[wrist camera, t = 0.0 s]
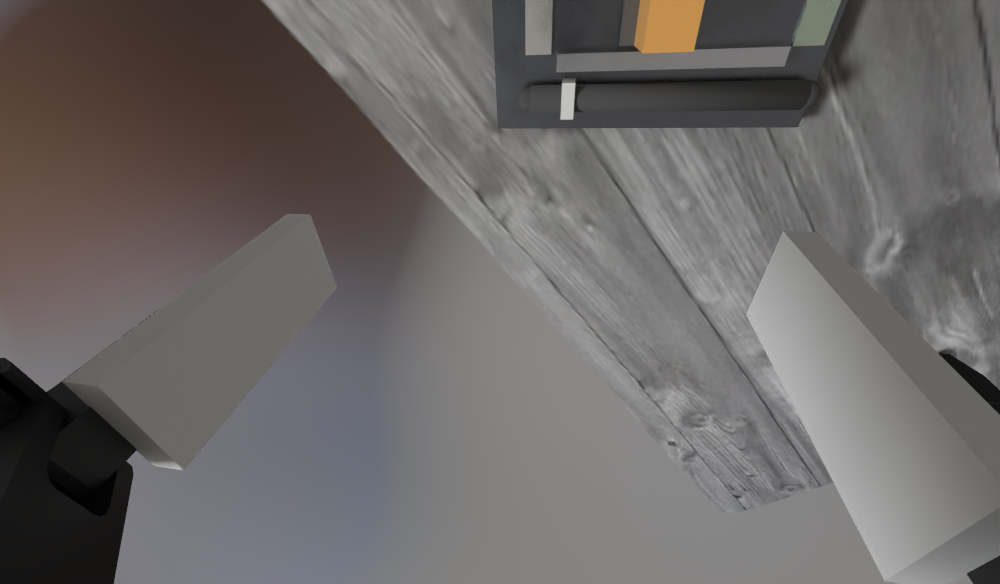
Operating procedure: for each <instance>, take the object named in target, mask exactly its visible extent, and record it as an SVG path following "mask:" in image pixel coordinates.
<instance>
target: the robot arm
mask: <svg viewBox="0 0 1000 584" xmlns="http://www.w3.org/2000/svg"><path fill="white" fill-rule="evenodd" d="M336 288H337V286H336V284H335V281H334V278H333V275H332V273H331V270H330V267H329V265H328V262H327V259H326V257H325V254H324V251H323V248H322V246H321V243H320V240H319V237H318V235H317V232H316V229H315V227H314V224H313V221H312V218H311V216H310V215H304V214H287V215H285V216H284V217H283V218H281V219H280V220H279V221H277V222H276V223H275V224H273V225H272V226H271V227H269V228H268V229H267V230H265V231H264V232H263V233H261V234H260V235H259V236H257V237H256V238H254V239H253V240H252V241H250V242H249V243H248V244H247V245H245V246H244V247H243V248H241V249H240V250H238V251H237V252H236V253H234V254H233V255H232V256H230V257H229V258H228V259H227V260H225V261H224V262H222V263H221V264H220V265H218V266H217V267H215V268H214V269H213V270H211V271H210V272H209V273H207V274H206V275H205V276H203V277H202V278H201V279H199V280H198V281H197V282H195V283H194V284H193V285H191V286H190V287H189V288H187V289H186V290H185V291H183V292H182V293H180V294H179V295H178V296H177V297H175V298H174V299H173V300H171V301H170V302H168V303H167V304H166V305H164V306H163V307H162V308H160V309H159V310H157V311H156V312H154V313H153V314H152V315H151V316H149V317H148V318H146V319H145V320H144V321H142V322H141V323H140V324H138V325H137V326H136V327H134V328H133V329H132V330H130V331H129V332H128V333H126V334H125V335H124V336H122V337H121V338H120V339H119V340H117V341H115V342H114V343H113V344H111V345H110V346H109V347H107V348H106V349H105V350H103V351H102V352H101V353H99V354H98V355H97V356H95V357H94V358H93V359H91V360H90V361H89V362H87V363H86V364H84V365H83V366H82V367H80V368H79V369H78V370H76V371H75V372H74V373H72V374H71V375H70V376H68V377H67V378H66V379H64V380H63V381H62V382H60V383H59V384H58V385H56V386H55V387H53V388H52V389H50V390H49V391H47V392H45V391H44V390H43V389H42V388H40V387H39V386H38V385H37V384H36V383H34V381H32V380H31V379H30V378H29V377H28V376H27V375H26V374H24V373H23V372H22V371H21V370H20V369H18V368H17V367H16V366H15V365H14V364H13V363H12V362H10V361H9V360H7V359H5V358H0V584H114V579H115V572H116V567H117V562H118V556H119V550H120V545H121V540H122V534H123V529H124V523H125V518H126V512H127V507H128V501H129V496H130V490H131V484H132V479H133V468H132V466H131V465H130V464H129V463H128V462H126V460H127V459H128V458H129V457H130V456H131V455H132V454H133V453H134V452H135V451H136V450H137V451H138V452H139V453H140V454H142V455H143V456H144V457H145V458H146V459H147V460H148V461H149V462H150V463H151V464H152V465H153V466H159V467H165V468H172V469H178V470H185V468H186V467H187V466H188V465H189V463H190V462H191V461H192V460H193V459H194V457H195V456H196V455H197V454H198V453H199V452H200V451H201V449H202V448H203V447H204V446H205V445H206V443H207V442H208V441H209V440H210V439H211V437H212V436H213V435H214V434H215V433H216V431H217V430H218V429H219V428H220V427H221V425H222V424H223V423H224V422H225V421H226V419H227V418H228V417H229V416H230V415H231V413H232V412H233V411H234V410H235V409H236V408H237V406H238V405H239V404H240V403H241V401H242V400H243V399H244V398H245V397H246V396H247V394H248V393H249V392H250V391H251V390H252V388H253V387H254V386H255V385H256V384H257V382H258V381H259V380H260V379H261V378H262V376H263V375H264V374H265V373H266V372H267V370H268V369H269V368H270V367H271V366H272V364H273V363H274V362H275V361H276V360H277V359H278V357H279V356H280V355H281V354H282V353H283V351H284V350H285V349H286V348H287V347H288V345H289V344H290V343H291V342H292V341H293V339H294V338H295V337H296V336H297V335H298V333H299V332H300V331H301V330H302V328H303V327H304V326H305V325H306V324H307V323H308V321H309V320H310V319H311V318H312V317H313V315H314V314H315V313H316V312H317V311H318V310H319V308H320V307H321V306H322V305H323V304H324V302H325V301H326V300H327V299H328V298H329V296H330V295H331V294H332V293H333V292H334V290H335V289H336ZM747 317H748V319H749V320H750V322H751V324H752V326H753V328H754V330H755V332H756V334H757V336H758V338H759V340H760V342H761V344H762V345H763V347H764V349H765V351H766V353H767V355H768V357H769V359H770V361H771V363H772V365H773V367H774V369H775V370H776V372H777V374H778V376H779V378H780V380H781V382H782V384H783V386H784V388H785V390H786V392H787V394H788V396H789V397H790V399H791V401H792V403H793V405H794V407H795V409H796V411H797V413H798V415H799V417H800V419H801V421H802V422H803V424H804V426H805V428H806V430H807V432H808V434H809V436H810V438H811V440H812V442H813V444H814V446H815V447H816V449H817V451H818V453H819V455H820V457H821V459H822V461H823V463H824V465H825V467H826V469H827V471H828V472H829V474H830V476H831V478H832V480H833V482H834V484H835V486H836V488H837V490H838V492H839V494H840V496H841V498H842V499H843V501H844V503H845V505H846V507H847V509H848V511H849V513H850V515H851V516H852V519H853V520H854V523H855V524H856V526H857V528H858V530H859V532H860V534H861V536H862V538H863V540H864V542H865V544H866V546H867V548H868V549H869V551H870V553H871V555H872V557H873V559H874V561H875V563H876V565H877V567H878V569H879V571H880V572H881V574H882V576H883V578H884V580H885V581H888V582H895V583H901V584H952V583H954V582H956V581H958V580H960V579H961V578H963V577H965V576H967V575H968V576H969V578H970V579H971V581H972V582H973V584H1000V390H999V389H998V388H997V387H996V386H994V385H993V384H992V383H991V382H990V381H989V380H988V379H987V378H986V377H985V376H983V375H982V374H980V373H979V372H977V371H975V370H974V369H972V368H971V367H969V366H967V365H966V364H964V363H963V362H961V361H959V360H958V359H956V358H955V357H953V356H951V355H950V354H942V353H937V352H936V351H935V350H934V349H933V348H932V347H931V346H930V345H929V344H928V343H927V342H926V341H925V340H924V339H923V338H922V337H921V336H920V335H919V334H918V333H917V332H916V331H915V330H914V329H913V328H912V327H911V326H910V325H909V324H908V323H907V322H906V321H905V320H904V319H903V318H902V317H901V316H900V315H899V314H898V313H897V312H896V311H895V310H894V309H893V308H892V307H891V306H890V305H889V304H888V303H887V302H886V301H885V300H884V299H883V298H882V297H881V296H880V295H879V294H878V293H877V292H876V291H875V290H874V289H873V288H872V287H871V286H870V285H869V284H868V283H867V282H866V281H865V280H864V279H863V278H862V277H861V276H860V275H859V274H858V273H857V272H856V271H855V270H854V269H853V268H852V267H851V266H850V265H849V264H848V263H847V262H846V261H845V260H844V259H843V258H842V257H841V256H840V255H839V254H838V253H837V252H836V251H835V250H834V249H833V248H832V247H831V246H830V245H829V244H828V243H827V242H826V241H825V240H824V239H823V238H822V237H821V236H820V235H819V234H818V233H817V232H795V231H783V233H782V235H781V237H780V240H779V242H778V244H777V246H776V249H775V251H774V253H773V256H772V258H771V260H770V262H769V265H768V267H767V269H766V271H765V274H764V276H763V278H762V281H761V283H760V285H759V287H758V290H757V292H756V294H755V296H754V299H753V301H752V303H751V306H750V308H749V310H748V312H747Z"/></svg>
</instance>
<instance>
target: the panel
mask: <svg viewBox="0 0 1000 584" xmlns="http://www.w3.org/2000/svg"><path fill="white" fill-rule="evenodd" d="M847 2H848V0H705V3H704V7H703V12H702V16H701V21H700V26H699V30H698V35H697V39H696V44H695V49H694V52H671V53H642V52H640V51H639V50H638V49H637V48H636V47H635V46H634V45H631V46H619V37H620V28H621V20H622V11H623V3H624V0H492V8H493V30H494V52H495V73H496V95H497V117H498V128H725V127H798V126H799V123H800V121H801V118H802V116H803V113H804V111H805V109H803V110H751V111H651V112H574V113H573V120H560V117H561V112H550V113H528V112H525V111H524V110H523V109H522V108H521V107H520V105H519V100H518V99H519V94H520V92H521V90H522V89H523V88H525V87H526V86H529V85H562V81H563V78H576V82H575V84H615V83H663V82H710V81H757V80H805V79H808V80H814V81H816V80H817V78H818V75H819V73H820V70H821V68H822V65H823V63H824V60H825V58H826V55H827V52H828V50H829V47H830V45H831V42H832V40H833V37H834V35H835V32H836V30H837V27H838V25H839V22H840V20H841V17H842V14H843V12H844V9H845V7H846V4H847Z"/></svg>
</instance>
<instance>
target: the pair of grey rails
mask: <svg viewBox="0 0 1000 584" xmlns="http://www.w3.org/2000/svg"><path fill="white" fill-rule="evenodd" d="M575 82H576V78H563V81H562V85H529V86H526V87H525V88H523V89H522V90H521V92H520V94H519V99H518V100H519V105H520V107H521V108H522V109H523V110H524V111H525V112H528V113H550V112H561V117H560V120H573V113H574V112H651V111H751V110H803V109H806V108H808V107H810V106H812V105H813V104H814V103H815V102H816V101H817V100H818V98H819V96H820V93H821V88H820V85H819V84H818V83H817V82H816V81H814V80H808V79H805V80H757V81H710V82H663V83H615V84H575Z"/></svg>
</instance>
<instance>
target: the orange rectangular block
mask: <svg viewBox="0 0 1000 584" xmlns="http://www.w3.org/2000/svg"><path fill="white" fill-rule="evenodd" d="M704 3H705V0H624V3H623V11H622V20H621V28H620V37H619V46H631V45H634V46H635V47H636V48H637V49H638V50H639V51H640V52H642V53H671V52H694V49H695V44H696V39H697V35H698V30H699V26H700V21H701V16H702V12H703V7H704Z"/></svg>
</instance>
